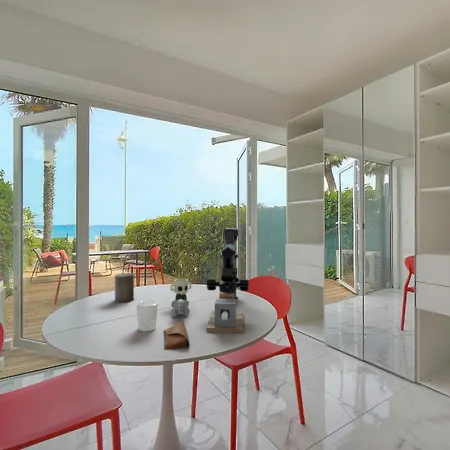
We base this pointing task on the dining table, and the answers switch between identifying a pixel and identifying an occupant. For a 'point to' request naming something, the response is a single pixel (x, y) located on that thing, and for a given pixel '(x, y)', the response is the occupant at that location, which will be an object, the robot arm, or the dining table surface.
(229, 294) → the shaft
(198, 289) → the dining table surface
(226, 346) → the dining table surface
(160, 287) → the dining table surface
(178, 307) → the elephant statuette
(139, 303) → the white cup
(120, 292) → the pillar candle
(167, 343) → the sunglasses case
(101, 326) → the dining table surface
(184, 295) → the character mug
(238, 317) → the bearing base
